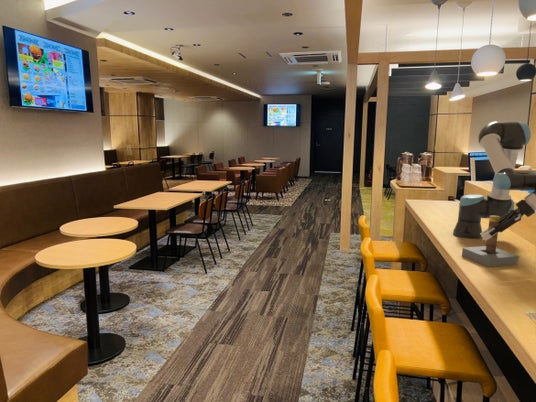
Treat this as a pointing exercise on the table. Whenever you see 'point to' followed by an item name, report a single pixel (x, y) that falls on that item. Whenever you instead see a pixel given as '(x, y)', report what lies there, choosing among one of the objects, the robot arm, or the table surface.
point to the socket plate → (490, 256)
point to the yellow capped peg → (493, 240)
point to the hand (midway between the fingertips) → (482, 237)
